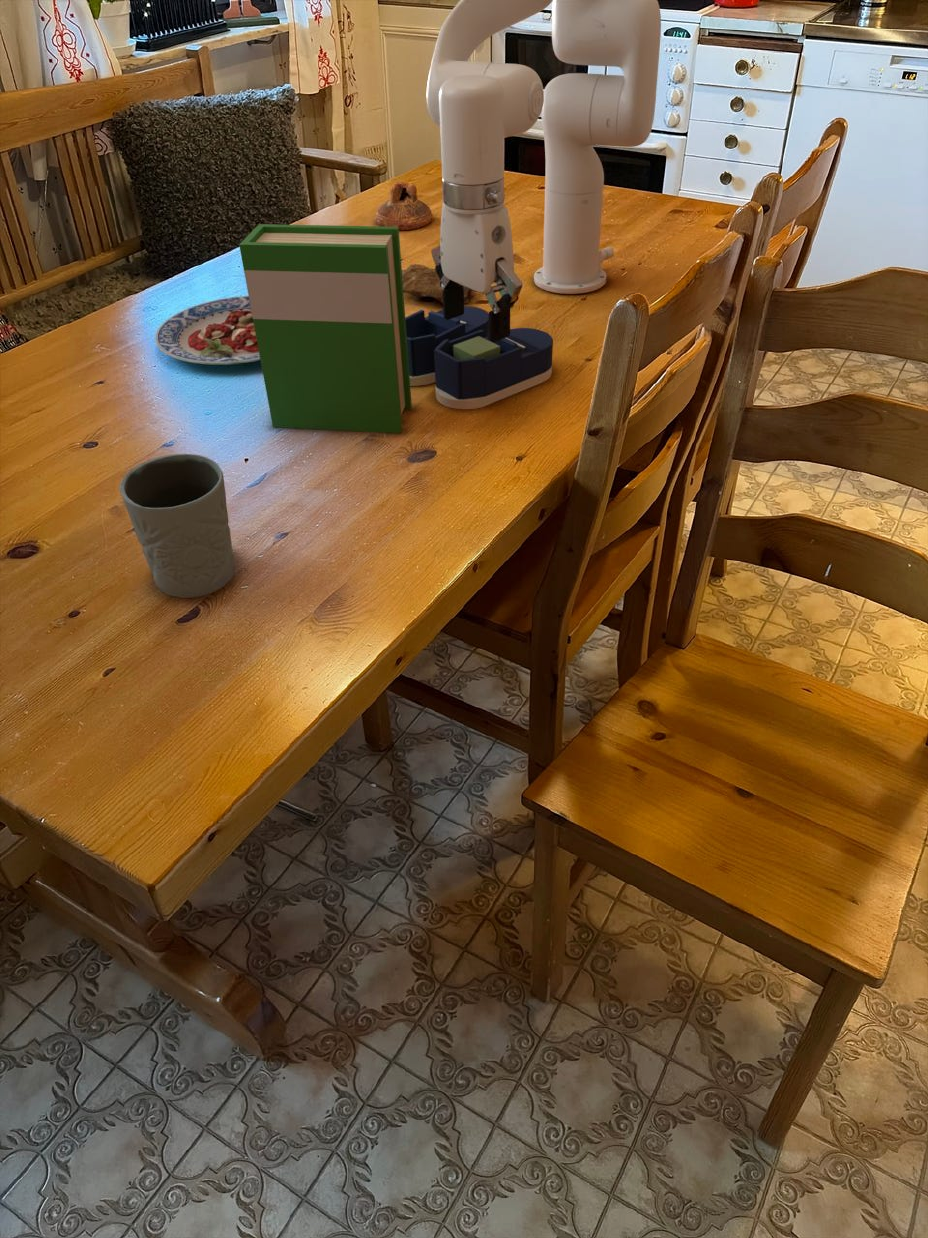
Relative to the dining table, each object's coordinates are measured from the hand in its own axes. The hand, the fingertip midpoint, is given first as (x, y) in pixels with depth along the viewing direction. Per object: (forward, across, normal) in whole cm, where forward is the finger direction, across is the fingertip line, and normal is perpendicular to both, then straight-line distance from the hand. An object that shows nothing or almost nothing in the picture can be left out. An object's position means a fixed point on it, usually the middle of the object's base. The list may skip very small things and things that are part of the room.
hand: (476, 327), depth 123 cm
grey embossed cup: (+10, -13, +50) cm, 52 cm away
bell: (+10, +68, -36) cm, 78 cm away
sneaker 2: (+9, 0, -3) cm, 10 cm away
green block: (+8, 0, 0) cm, 8 cm away
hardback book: (+10, +6, +19) cm, 22 cm away
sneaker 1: (+9, +12, -2) cm, 15 cm away
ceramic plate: (+10, +39, +17) cm, 43 cm away
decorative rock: (+10, +33, -17) cm, 38 cm away
